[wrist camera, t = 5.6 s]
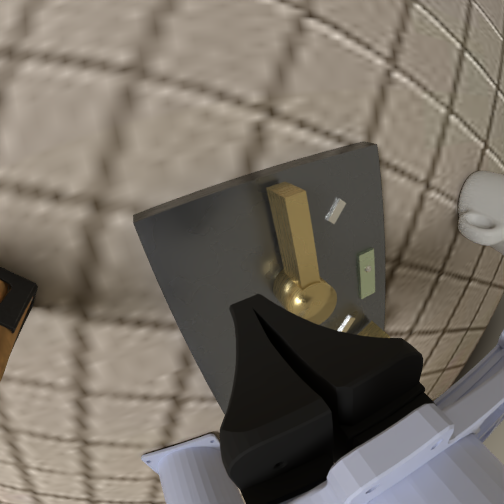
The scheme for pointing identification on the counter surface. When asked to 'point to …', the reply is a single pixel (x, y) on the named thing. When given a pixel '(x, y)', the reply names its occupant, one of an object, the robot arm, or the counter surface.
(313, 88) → the counter surface
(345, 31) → the counter surface
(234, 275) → the base plate
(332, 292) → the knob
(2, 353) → the ammunition clip
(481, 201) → the cup
